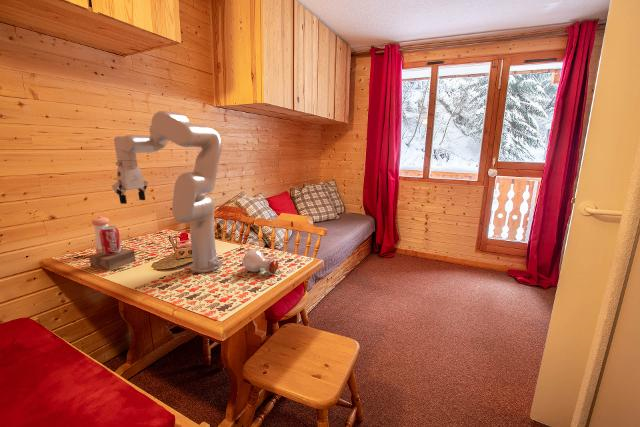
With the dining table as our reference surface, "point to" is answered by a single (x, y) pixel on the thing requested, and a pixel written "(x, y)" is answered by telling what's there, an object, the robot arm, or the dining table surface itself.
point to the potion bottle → (259, 262)
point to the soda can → (110, 240)
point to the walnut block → (112, 259)
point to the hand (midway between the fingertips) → (133, 201)
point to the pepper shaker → (98, 225)
